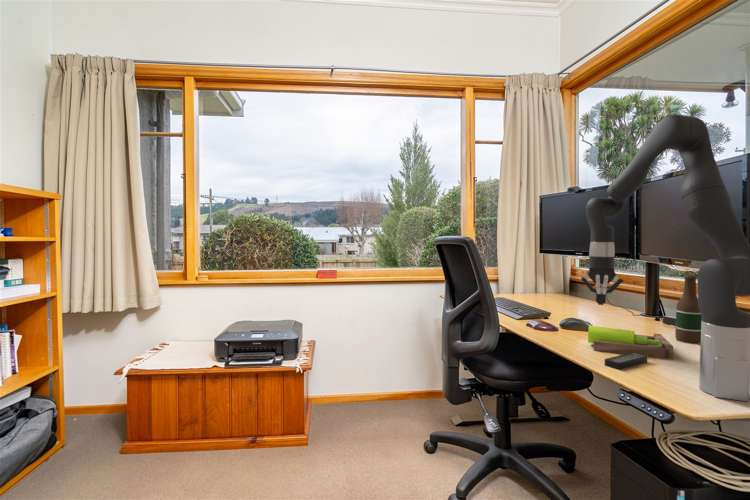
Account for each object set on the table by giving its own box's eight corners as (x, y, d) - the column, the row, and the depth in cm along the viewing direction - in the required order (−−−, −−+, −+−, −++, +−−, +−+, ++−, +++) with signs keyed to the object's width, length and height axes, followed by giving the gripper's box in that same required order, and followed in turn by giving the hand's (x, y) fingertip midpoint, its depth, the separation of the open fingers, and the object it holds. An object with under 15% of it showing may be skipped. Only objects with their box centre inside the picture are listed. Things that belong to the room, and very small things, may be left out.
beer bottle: (707, 344, 134) (710, 276, 133) (682, 343, 135) (684, 276, 134) (693, 338, 141) (696, 274, 140) (670, 337, 143) (672, 273, 142)
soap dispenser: (588, 326, 131) (660, 334, 120) (589, 325, 137) (659, 333, 126) (587, 343, 131) (660, 353, 119) (589, 341, 136) (658, 351, 125)
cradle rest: (672, 359, 119) (673, 346, 118) (593, 350, 128) (593, 338, 128) (660, 345, 133) (660, 334, 133) (589, 338, 142) (590, 327, 142)
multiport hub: (603, 366, 114) (604, 358, 114) (632, 359, 120) (632, 352, 120) (618, 371, 110) (619, 363, 110) (647, 363, 116) (648, 356, 116)
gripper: (580, 255, 132) (579, 304, 132) (626, 256, 126) (624, 307, 127) (579, 254, 139) (578, 301, 139) (622, 254, 133) (621, 304, 134)
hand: (600, 304), depth 133 cm, fingers closed
